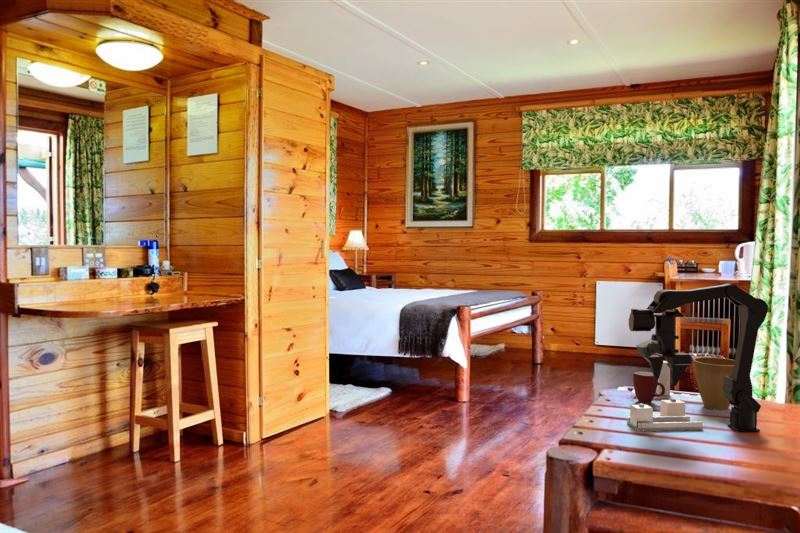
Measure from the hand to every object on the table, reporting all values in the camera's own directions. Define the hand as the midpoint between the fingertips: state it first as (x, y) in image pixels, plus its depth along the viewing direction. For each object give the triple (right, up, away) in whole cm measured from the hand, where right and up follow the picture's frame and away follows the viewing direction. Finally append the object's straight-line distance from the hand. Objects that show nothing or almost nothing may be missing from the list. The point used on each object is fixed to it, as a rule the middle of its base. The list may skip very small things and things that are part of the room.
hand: (665, 382), depth 192 cm
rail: (-1, -13, -1) cm, 13 cm away
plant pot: (+27, -13, +24) cm, 39 cm away
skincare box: (+17, -12, +44) cm, 48 cm away
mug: (+6, -12, +29) cm, 32 cm away
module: (+6, -13, +9) cm, 17 cm away
